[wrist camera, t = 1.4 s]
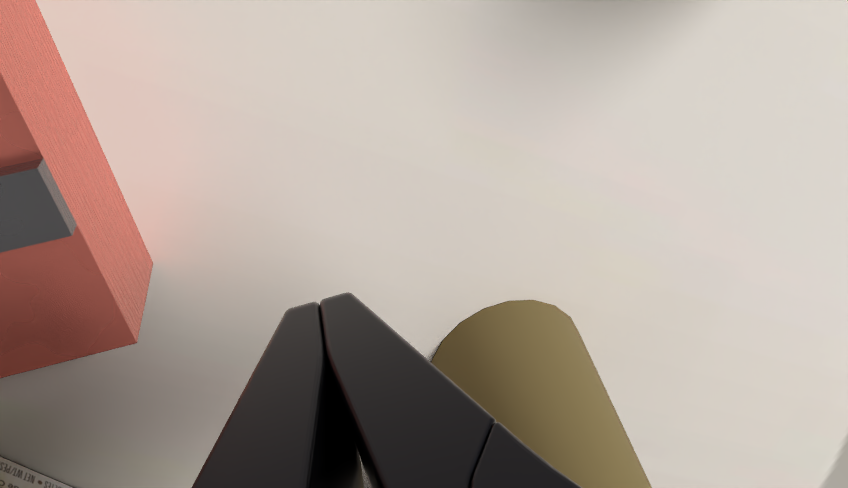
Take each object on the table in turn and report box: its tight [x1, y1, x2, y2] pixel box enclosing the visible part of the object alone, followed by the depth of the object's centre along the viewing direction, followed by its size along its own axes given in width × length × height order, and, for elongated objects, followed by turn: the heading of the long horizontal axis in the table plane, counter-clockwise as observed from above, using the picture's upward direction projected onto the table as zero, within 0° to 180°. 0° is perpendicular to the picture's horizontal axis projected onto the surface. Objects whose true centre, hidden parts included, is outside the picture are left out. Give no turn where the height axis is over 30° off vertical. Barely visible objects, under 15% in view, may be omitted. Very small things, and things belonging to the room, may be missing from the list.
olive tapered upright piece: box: [431, 300, 652, 488], centre depth 20 cm, size 6×6×11 cm
